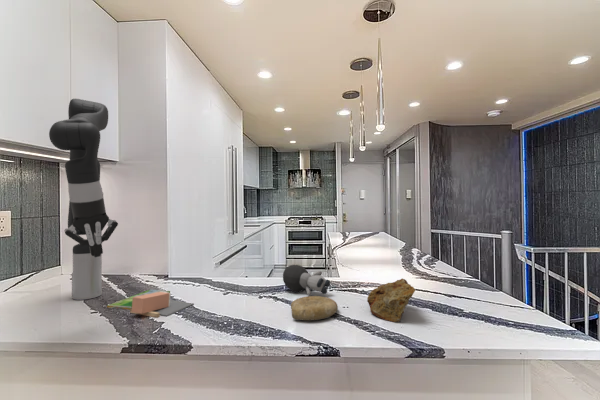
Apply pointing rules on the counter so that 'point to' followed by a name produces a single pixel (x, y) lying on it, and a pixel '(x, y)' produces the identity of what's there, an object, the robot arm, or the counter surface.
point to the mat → (173, 308)
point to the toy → (304, 280)
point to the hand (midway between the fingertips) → (97, 256)
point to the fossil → (313, 308)
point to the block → (150, 302)
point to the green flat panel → (128, 301)
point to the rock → (390, 300)
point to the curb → (148, 313)
